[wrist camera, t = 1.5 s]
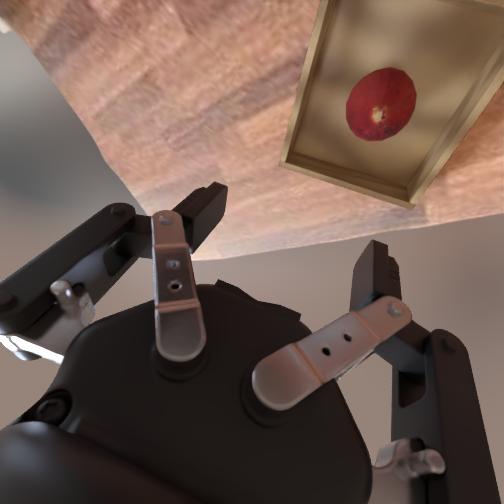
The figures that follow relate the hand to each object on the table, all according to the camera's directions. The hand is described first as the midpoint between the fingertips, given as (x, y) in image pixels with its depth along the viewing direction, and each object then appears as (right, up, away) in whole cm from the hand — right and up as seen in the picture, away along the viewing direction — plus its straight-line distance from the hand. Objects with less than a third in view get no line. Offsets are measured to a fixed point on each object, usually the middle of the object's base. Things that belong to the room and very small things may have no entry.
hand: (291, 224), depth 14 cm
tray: (+11, +14, +13) cm, 22 cm away
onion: (+11, +14, +13) cm, 22 cm away
